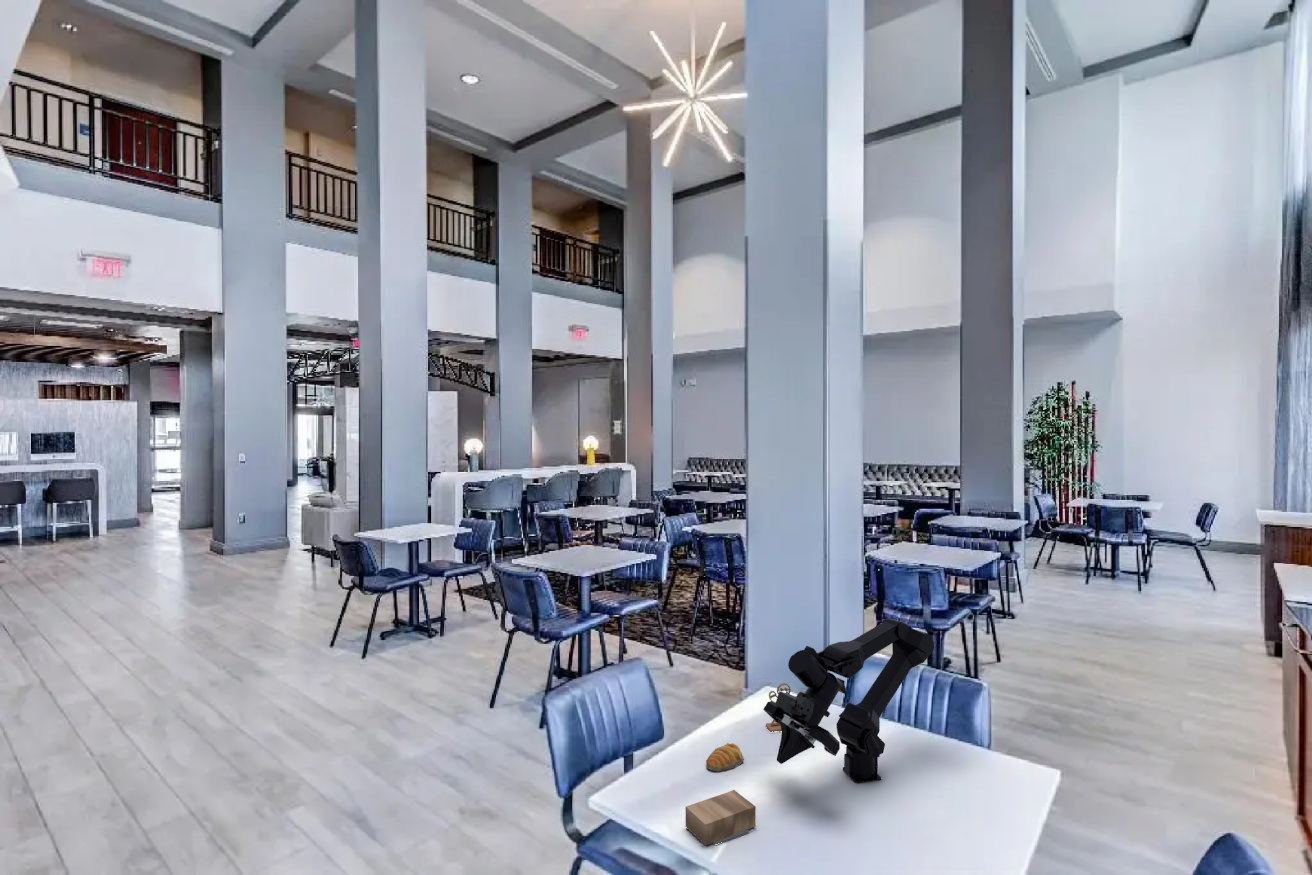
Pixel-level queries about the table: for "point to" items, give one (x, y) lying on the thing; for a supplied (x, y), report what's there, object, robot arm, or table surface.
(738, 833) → the mat
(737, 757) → the pastry
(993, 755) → the table surface
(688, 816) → the block
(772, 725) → the gingerbread man figurine
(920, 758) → the table surface
